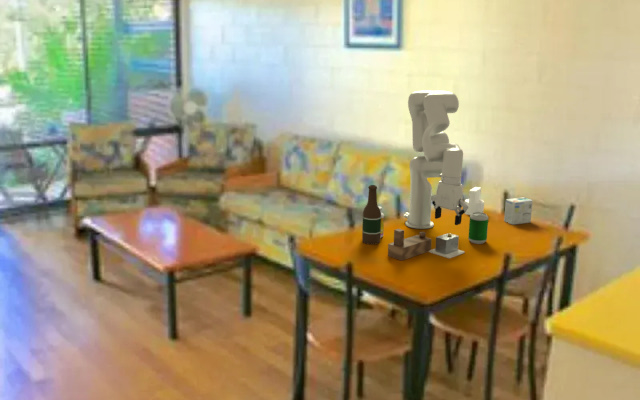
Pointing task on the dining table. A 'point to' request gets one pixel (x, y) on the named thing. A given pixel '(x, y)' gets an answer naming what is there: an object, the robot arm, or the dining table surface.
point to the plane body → (408, 245)
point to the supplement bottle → (381, 222)
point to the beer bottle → (371, 218)
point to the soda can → (478, 228)
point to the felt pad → (448, 254)
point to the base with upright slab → (474, 201)
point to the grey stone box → (446, 243)
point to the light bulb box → (518, 210)
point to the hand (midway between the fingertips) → (447, 221)
